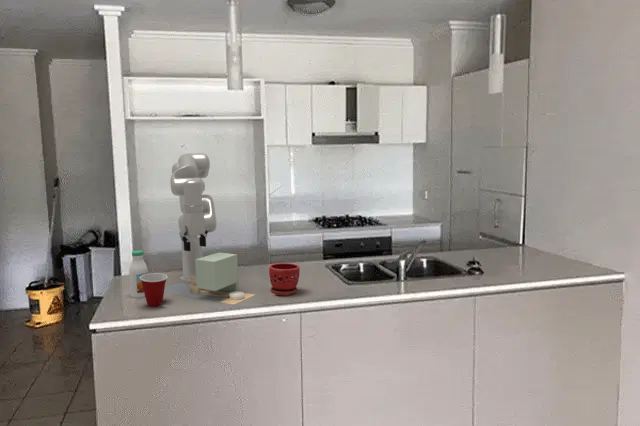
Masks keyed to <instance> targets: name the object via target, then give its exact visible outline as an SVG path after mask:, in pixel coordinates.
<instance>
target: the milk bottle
mask: <svg viewBox="0 0 640 426" xmlns="http://www.w3.org/2000/svg"><path fill="white" fill-rule="evenodd" d="M131 258H132V261H131V263H130V266H129V275H128V277H129V288H130V289H129V292H130V293H129V294H130V297H131V298H145V294H144V290H143V285H142V282H141V280H140V276H142V275H145V274H149V270H148V266H147V264H146V262H145V260H144V250H141V249H140V250H139V249H138V250H133V251H131Z"/></svg>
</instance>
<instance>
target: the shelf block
mask: <svg viewBox="0 0 640 426" xmlns="http://www.w3.org/2000/svg"><path fill="white" fill-rule="evenodd" d="M238 264H239V263H238V254H236V253H235V254H234V253H229V252H227V253H226V252H215V253H211V254H208V255H206V256H203V257H202V258H198V259H195V265H196V286H197V288H201V289H208V290H214V291H216V290H221V291H227V292H235V291H239V289H240V288H239V269H238V266H239V265H238Z"/></svg>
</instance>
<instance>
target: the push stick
mask: <svg viewBox="0 0 640 426" xmlns="http://www.w3.org/2000/svg"><path fill="white" fill-rule="evenodd" d="M188 281H189V284H190V292H191V293H197V294H198V293H200V294H206V295H212V296H218V297H224V298H229V293H225V292H218V291H212V290H206V289H201V288H197V286H196V275H193V276H190V277H189V280H188Z"/></svg>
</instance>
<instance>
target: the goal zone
mask: <svg viewBox="0 0 640 426" xmlns="http://www.w3.org/2000/svg"><path fill="white" fill-rule="evenodd" d="M252 297H255V293H248V292H244V298H243V299H241V300H231V299H226V300H224V301H221V302H220V303H222V304H228V305H231V306H232V305H236V304H238V303H240V302H243V301H245V300H247V299H250V298H252Z"/></svg>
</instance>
